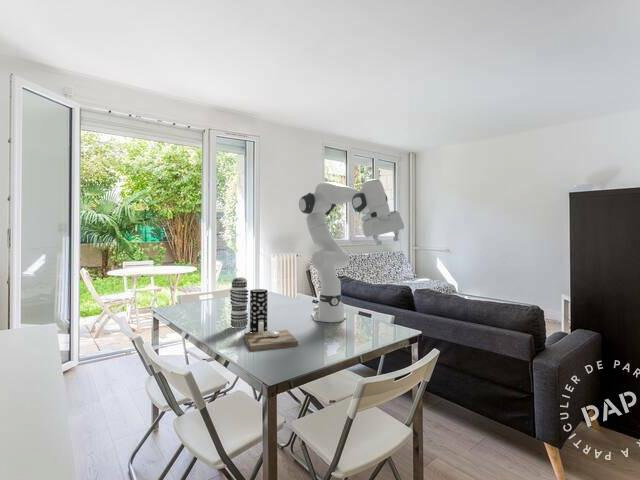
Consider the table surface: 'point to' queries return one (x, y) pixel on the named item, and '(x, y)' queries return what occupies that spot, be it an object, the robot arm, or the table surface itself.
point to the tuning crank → (260, 333)
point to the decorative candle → (239, 303)
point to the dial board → (270, 340)
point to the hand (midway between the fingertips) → (388, 243)
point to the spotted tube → (258, 309)
